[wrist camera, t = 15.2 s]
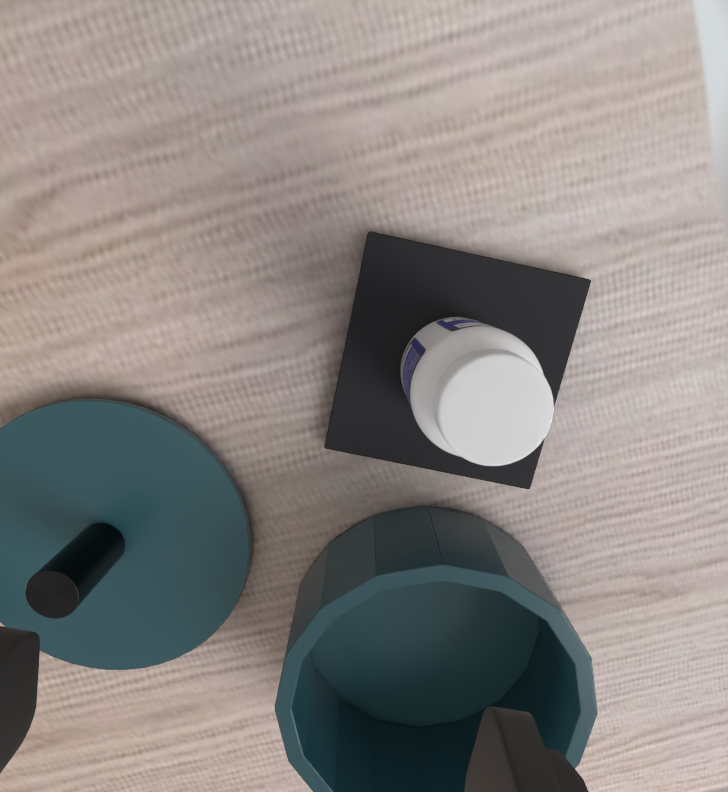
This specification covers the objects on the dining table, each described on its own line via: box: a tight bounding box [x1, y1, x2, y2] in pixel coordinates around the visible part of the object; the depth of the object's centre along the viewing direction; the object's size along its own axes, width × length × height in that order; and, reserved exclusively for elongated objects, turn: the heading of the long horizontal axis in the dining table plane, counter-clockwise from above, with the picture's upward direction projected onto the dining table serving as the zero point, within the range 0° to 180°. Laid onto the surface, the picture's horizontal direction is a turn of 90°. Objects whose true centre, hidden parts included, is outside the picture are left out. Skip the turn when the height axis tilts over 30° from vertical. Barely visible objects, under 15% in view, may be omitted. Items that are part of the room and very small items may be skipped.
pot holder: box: [324, 232, 591, 489], centre depth 27 cm, size 11×11×1 cm
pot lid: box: [0, 399, 251, 670], centre depth 27 cm, size 16×16×6 cm
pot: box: [275, 507, 597, 792], centre depth 28 cm, size 15×15×6 cm
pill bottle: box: [401, 317, 554, 466], centre depth 23 cm, size 5×5×9 cm
